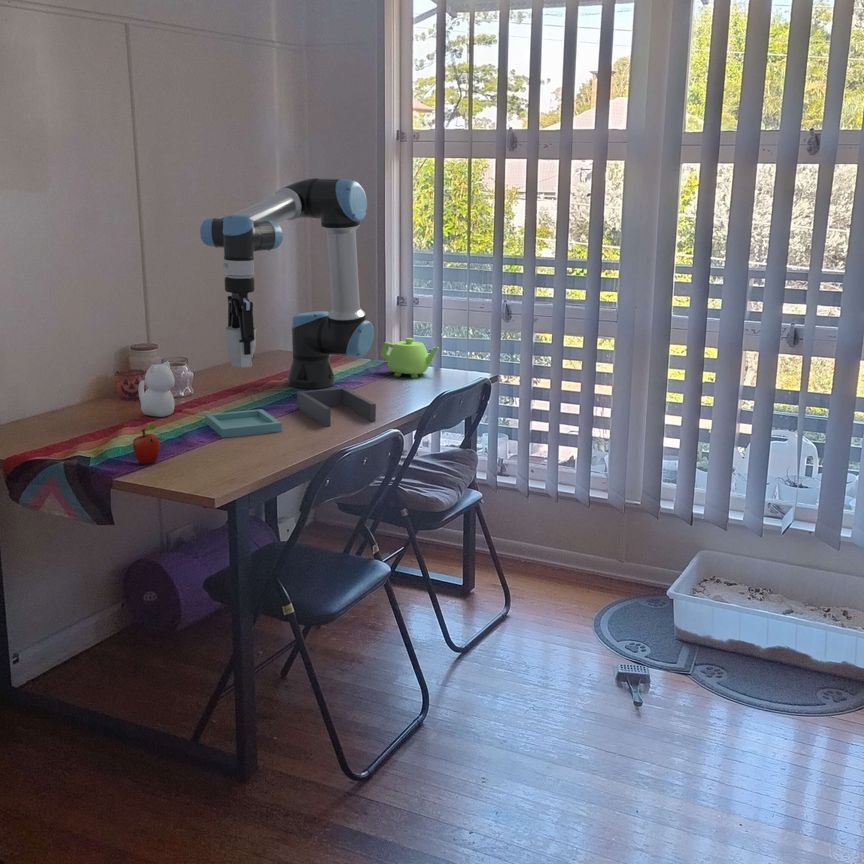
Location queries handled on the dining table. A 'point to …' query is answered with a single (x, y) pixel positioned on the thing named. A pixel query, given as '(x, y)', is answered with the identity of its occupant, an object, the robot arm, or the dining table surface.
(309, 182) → the robot arm
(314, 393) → the bay
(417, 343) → the teapot
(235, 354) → the cup
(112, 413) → the dining table surface
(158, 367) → the cat figurine
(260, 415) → the tray
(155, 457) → the apple
